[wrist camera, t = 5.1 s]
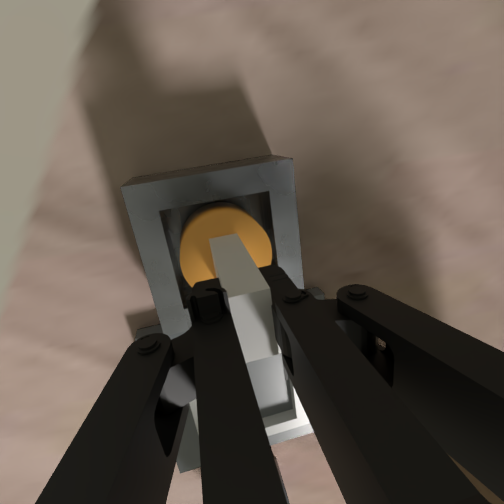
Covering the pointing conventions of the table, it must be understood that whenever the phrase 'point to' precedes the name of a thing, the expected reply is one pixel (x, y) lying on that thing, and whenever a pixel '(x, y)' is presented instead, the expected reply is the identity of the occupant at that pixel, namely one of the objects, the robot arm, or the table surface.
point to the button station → (194, 197)
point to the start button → (215, 225)
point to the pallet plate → (268, 398)
